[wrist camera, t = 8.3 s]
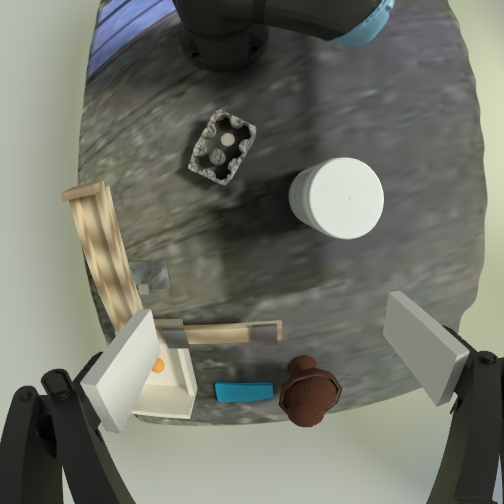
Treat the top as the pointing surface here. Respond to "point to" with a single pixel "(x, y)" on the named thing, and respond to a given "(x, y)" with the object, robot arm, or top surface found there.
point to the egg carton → (227, 140)
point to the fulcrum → (150, 275)
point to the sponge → (243, 391)
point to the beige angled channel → (122, 283)
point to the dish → (169, 383)
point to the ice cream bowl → (308, 392)
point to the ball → (158, 366)
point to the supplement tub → (338, 198)
